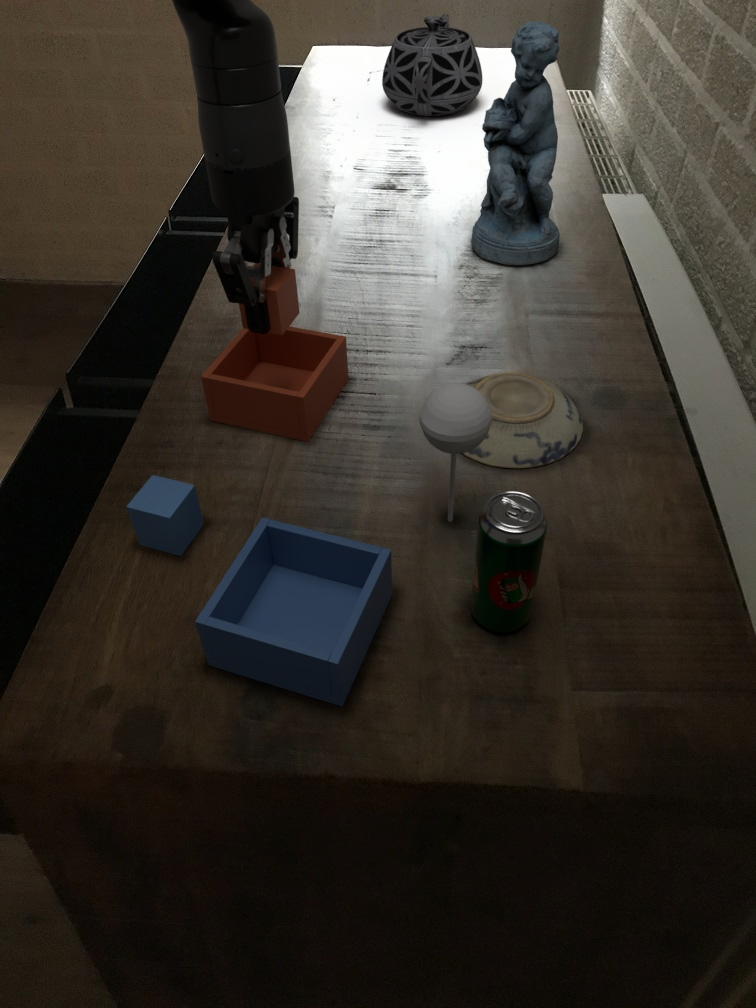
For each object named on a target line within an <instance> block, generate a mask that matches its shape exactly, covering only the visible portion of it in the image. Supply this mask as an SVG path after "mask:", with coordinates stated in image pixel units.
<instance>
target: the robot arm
mask: <svg viewBox="0 0 756 1008" xmlns="http://www.w3.org/2000/svg"><path fill="white" fill-rule="evenodd" d="M171 1H172V4H173V7H174V10H175V12H176V14H177V17H178V19H179V21H180V24H181V26H182V28H183V31H184V33H185V37H186V39H187V45H188V53H189V58H190V59H189V60H190V64H191V71H192V75H193V82H194V88H195V93H196V100H197V117H198V118H197V119H198V128H199V133H200V134H199V135H200V140H201V145H202V150H203V158H204V162H205V163H204V164H205V168H206V174H207V180H208V185H209V191H210V196H211V201H212V203H213V206H215V207H216V209H218V210H220V211H221V212H222V213H223V214H224V216H225V217H226V218H227V232H226V236H227V240H228V243H227V245H226V246H225V249H224V250H223V251H221V250H215V251H214V252H213V254H212V263H213V266H214V268H215V271H216V273H217V276H218V278H219V281H220V283H221V285H222V289H223V290H224V293H225V296H226V298H227V301H228V303H232V304H238V305H239V304H244V308H245V314H246V320H247V326H248V329H249V330H250V331H251V332H254V333H259V334H267V333H268V332H269V331H270V329H271V327H270V320H269V312H268V305H267V299H265V298H266V278H267V277H268V276H270V274H271V266H278V267H284V268H290V269H292V262H291V261H292V260H296V259H297V258H298V254H299V221H300V220H299V219H300V199H299V197H298V196H295V182H294V181H295V180H294V173H293V163H292V151H291V143H290V133H289V131H290V130H289V124H288V115H287V110H286V105H285V103H284V102H285V101H284V97H283V93H282V83H281V74H280V63H279V55H278V46H277V39H276V32H275V28H274V25H273V22H272V20H271V18H270V16H269V15H268V14H267V13H266V12H265V11H264V10H263V9H262V8H260V7H259V6H258V5H256V4H255V3H254V2H253V1H252V0H171ZM248 263H251V264H255V263H257V264H260V267H253V265H248ZM250 277H253V278H255V279H256V288H254V287H253V284H252V282H251V279H250ZM236 288H237V289H236Z"/></svg>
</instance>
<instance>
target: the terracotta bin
mask: <svg viewBox="0 0 756 1008" xmlns="http://www.w3.org/2000/svg"><path fill="white" fill-rule="evenodd" d="M347 347H348V345H347V336H346V335H339V334H334V333H330V332H329V333H328V332H322V331H318V330H312V329H307V328H302V327H295V326H291V325H290V326H289V327H288V328H287V330H286V331H285V332H284V333H283V335H277V334H272V333H267V334H259V333H254V332H251V331H250V330H249V329H245V328H243V327H242V329H241V330H240V331H239V332H238V333H237V334H236V335H235V337H234V338H233V339H232V340H231V341H230V342H229V344H228V345H226V347H225V348H224V349H223V350H222V352H221V353H220V354H219V355H218V356H217V357H216V358H215V360H213V362H212V363H211V364H210V365H209V366H208V368H207V369H206V370H205V371H204V372H203V373H202V375H201V376H200V380H201V384H202V388H203V394H204V397H205V398H204V399H205V402H206V403H205V404H206V407H207V411H208V415H209V416H208V417H209V419H210V421H211V422H217V423H222V424H226V425H229V426H235V427H239V428H243V429H248V430H252V431H256V432H262V433H267V434H271V435H275V436H280V437H284V438H289V439H293V440H297V441H303V442H306V443H307V442H310V441H311V438H312V437H313V435H314V434H315V433H316V431H317V429H318V428H319V426H320V425H321V423H322V422H323V420H324V418H326V416H327V414H328V412H329V411H330V410H331V409H332V407H333V405H334V403H335V402H336V400H337V398H338V397H339V395H340V393H341V392H342V391H343V389H344V388H345V386H346V384H347V383H348V382H349V365H348V348H347Z"/></svg>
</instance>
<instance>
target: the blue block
mask: <svg viewBox="0 0 756 1008" xmlns="http://www.w3.org/2000/svg"><path fill="white" fill-rule="evenodd" d="M126 511H127V514H128V517H129V519H130V521H131V525H132V527H133V530H134V534H135V537H136V539H137V543H138V544H139V546H142V547H146V548H149V549H153V550H156V551H161V552H164V553H168V554H172V555H175V556H179V557H182V556H183V554H184V553H185V552H186V550H187V549H188V547H189V546H190V545H191V543H192V541H193V540H194V539H195V537H196V536H197V534H199V532H200V530H201V529H202V528H203V526H204V524H205V521H204V517H203V513H202V509H201V505H200V501H199V497H198V493H197V489H196V485H195V484H191V483H187V482H183V481H179V480H175V479H171V478H167V477H163V476H160V475H155V474H152V475H151V476H150V477H149V478H148V479H147V481H146V482H145V483H144V484H143V486H141V488H140V489H139V490H138V492H137V493H136V494H135V496H133V498H132V499H131V500H130V502H129V503H128V504H127V505H126Z"/></svg>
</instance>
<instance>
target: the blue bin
mask: <svg viewBox="0 0 756 1008" xmlns="http://www.w3.org/2000/svg"><path fill="white" fill-rule="evenodd" d="M392 571H393V570H392V550H391V549H390V548H387V547H381V546H378V545H374V544H370V543H366V542H362V541H359V540H355V539H350V538H347V537H342V536H338V535H334V534H332V533H331V534H330V533H327V532H323V531H318V530H316V529H315V530H314V529H311V528H308V527H307V528H306V527H303V526H298V525H296V524H295V525H294V524H291V523H286V522H282V521H279V520H275V519H270V518H267V517H264V516H263V517H261V518H260V520H259V522H258V523H257V524H256V526H255V527H254V529H253V530H252V533H250V535H249V536H248V539H246V542H245V543H244V544H243V546H242V548H241V550H240V551H239V553H238V554H237V555H236V557H235V559H234V560H233V562H232V563H231V565H230V567H229V568H228V570H226V572H225V574H224V576H223V577H222V579H221V581H220V582H219V583H218V585H217V587H216V588H215V590H214V591H213V593H212V594H211V596H210V597H209V599H208V601H207V602H206V604H205V605H204V607H203V608H202V610H201V611H200V613H199V614H198V616H197V618H196V619H195V621H194V624H195V626H196V630H197V633H198V636H199V639H200V643H201V646H202V649H203V653H204V655H205V659H206V662H207V665H208V666H210V667H212V668H217V669H219V670H223V671H225V672H229V673H232V674H236V675H239V676H242V677H244V678H248V679H252V680H255V681H256V682H257V681H258V682H261V683H264V684H268V685H271V686H273V687H277V688H279V689H284V690H287V691H289V692H294V693H296V694H300V695H302V696H306V697H309V698H312V699H316V700H318V701H321V702H325V703H329V704H332V705H335V706H338V707H340V708H341V707H343V706H344V704H345V702H346V699H347V697H348V695H349V694H350V691H351V688H352V686H353V684H354V681H355V680H356V677H357V675H358V674H359V673H358V672H359V670H360V668H361V666H362V665H363V664H362V663H363V661H364V659H365V657H366V655H367V652H368V650H369V649H370V645H371V643H372V641H373V639H374V637H375V635H376V632H377V630H378V627H379V626H380V623H381V621H382V618H383V616H384V614H385V612H386V609H387V607H388V605H389V603H390V601H391V599H392V596H393V576H392V575H393V573H392Z"/></svg>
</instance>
